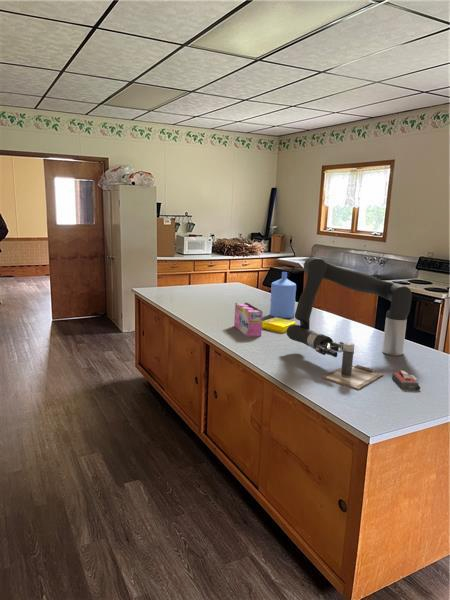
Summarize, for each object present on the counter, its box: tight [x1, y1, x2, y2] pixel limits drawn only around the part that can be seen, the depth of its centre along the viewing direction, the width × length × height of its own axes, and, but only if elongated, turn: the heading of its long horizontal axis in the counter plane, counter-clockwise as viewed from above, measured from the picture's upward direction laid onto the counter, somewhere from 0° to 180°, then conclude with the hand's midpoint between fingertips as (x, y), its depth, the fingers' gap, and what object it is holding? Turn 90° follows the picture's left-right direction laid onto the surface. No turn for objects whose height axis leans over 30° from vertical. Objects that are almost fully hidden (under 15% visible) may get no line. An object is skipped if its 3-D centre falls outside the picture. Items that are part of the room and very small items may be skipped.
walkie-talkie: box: [391, 369, 421, 391], centre depth 175 cm, size 9×4×20 cm
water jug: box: [269, 271, 297, 319], centre depth 275 cm, size 16×16×28 cm
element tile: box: [262, 317, 297, 334], centre depth 248 cm, size 15×15×5 cm
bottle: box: [341, 342, 355, 378], centre depth 175 cm, size 4×4×14 cm
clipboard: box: [320, 364, 385, 391], centre depth 177 cm, size 22×16×2 cm
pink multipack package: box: [234, 302, 264, 338], centre depth 240 cm, size 24×8×14 cm, turn 18°
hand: (345, 353), depth 176 cm, fingers open, 8 cm apart
